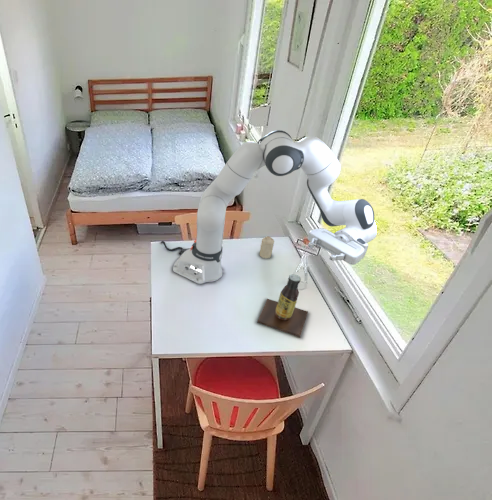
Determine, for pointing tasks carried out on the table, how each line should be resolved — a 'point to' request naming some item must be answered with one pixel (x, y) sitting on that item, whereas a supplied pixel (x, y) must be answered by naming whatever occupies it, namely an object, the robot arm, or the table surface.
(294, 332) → the serving board
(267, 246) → the candle
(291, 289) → the sauce bottle
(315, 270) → the table surface
